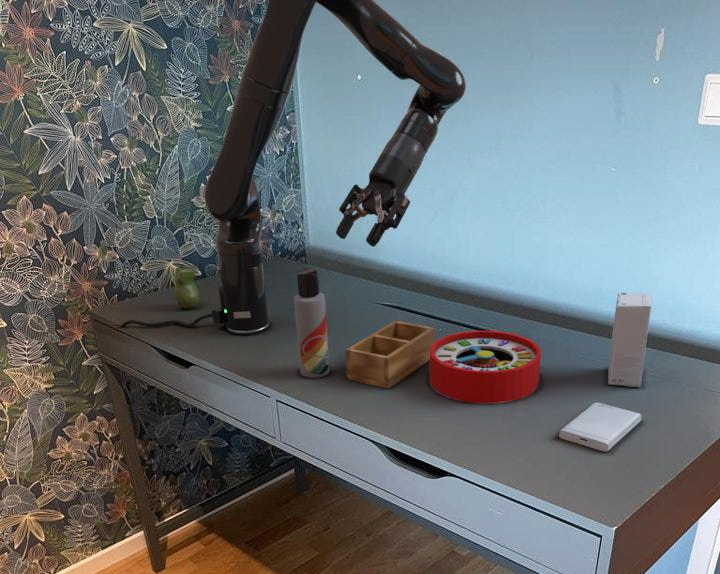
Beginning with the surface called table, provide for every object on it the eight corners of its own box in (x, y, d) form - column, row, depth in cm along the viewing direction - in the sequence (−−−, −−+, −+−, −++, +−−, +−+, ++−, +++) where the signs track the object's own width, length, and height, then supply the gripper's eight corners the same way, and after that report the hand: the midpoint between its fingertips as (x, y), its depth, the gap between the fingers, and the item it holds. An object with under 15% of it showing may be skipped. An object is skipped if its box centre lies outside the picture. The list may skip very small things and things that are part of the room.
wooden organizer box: (347, 379, 146) (345, 349, 143) (395, 348, 158) (394, 320, 155) (388, 389, 141) (388, 358, 138) (434, 356, 154) (435, 327, 150)
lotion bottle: (325, 379, 146) (318, 274, 136) (296, 377, 147) (287, 274, 137) (332, 367, 151) (326, 265, 141) (304, 365, 152) (296, 264, 142)
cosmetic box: (640, 388, 137) (653, 307, 129) (605, 385, 139) (616, 305, 131) (641, 369, 144) (653, 291, 136) (607, 367, 146) (617, 290, 138)
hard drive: (594, 401, 130) (559, 428, 122) (642, 413, 125) (608, 443, 117) (593, 410, 131) (558, 438, 123) (640, 423, 126) (607, 452, 118)
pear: (192, 302, 189) (186, 261, 184) (205, 307, 186) (199, 265, 180) (173, 308, 185) (166, 267, 180) (186, 313, 182) (179, 271, 177)
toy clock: (563, 358, 135) (464, 381, 129) (560, 389, 138) (463, 412, 132) (502, 323, 151) (410, 342, 145) (500, 352, 154) (411, 371, 148)
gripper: (361, 149, 146) (318, 222, 145) (414, 155, 136) (369, 234, 136) (382, 174, 151) (341, 245, 151) (435, 182, 142) (391, 258, 142)
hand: (354, 240), depth 144 cm, fingers open, 8 cm apart
